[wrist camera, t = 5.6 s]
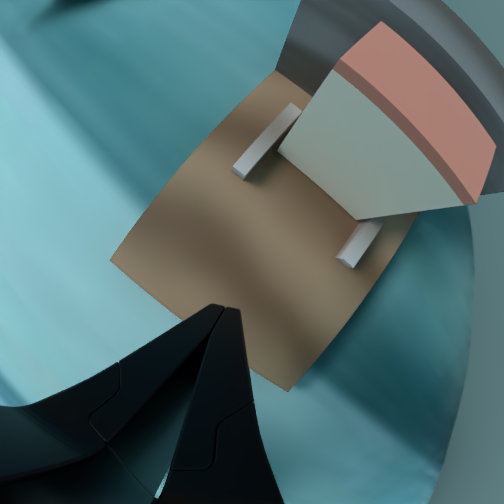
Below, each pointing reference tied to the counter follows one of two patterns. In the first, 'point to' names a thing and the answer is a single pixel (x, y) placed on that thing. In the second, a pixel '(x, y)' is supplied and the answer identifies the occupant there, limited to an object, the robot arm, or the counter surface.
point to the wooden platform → (295, 193)
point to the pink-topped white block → (389, 134)
